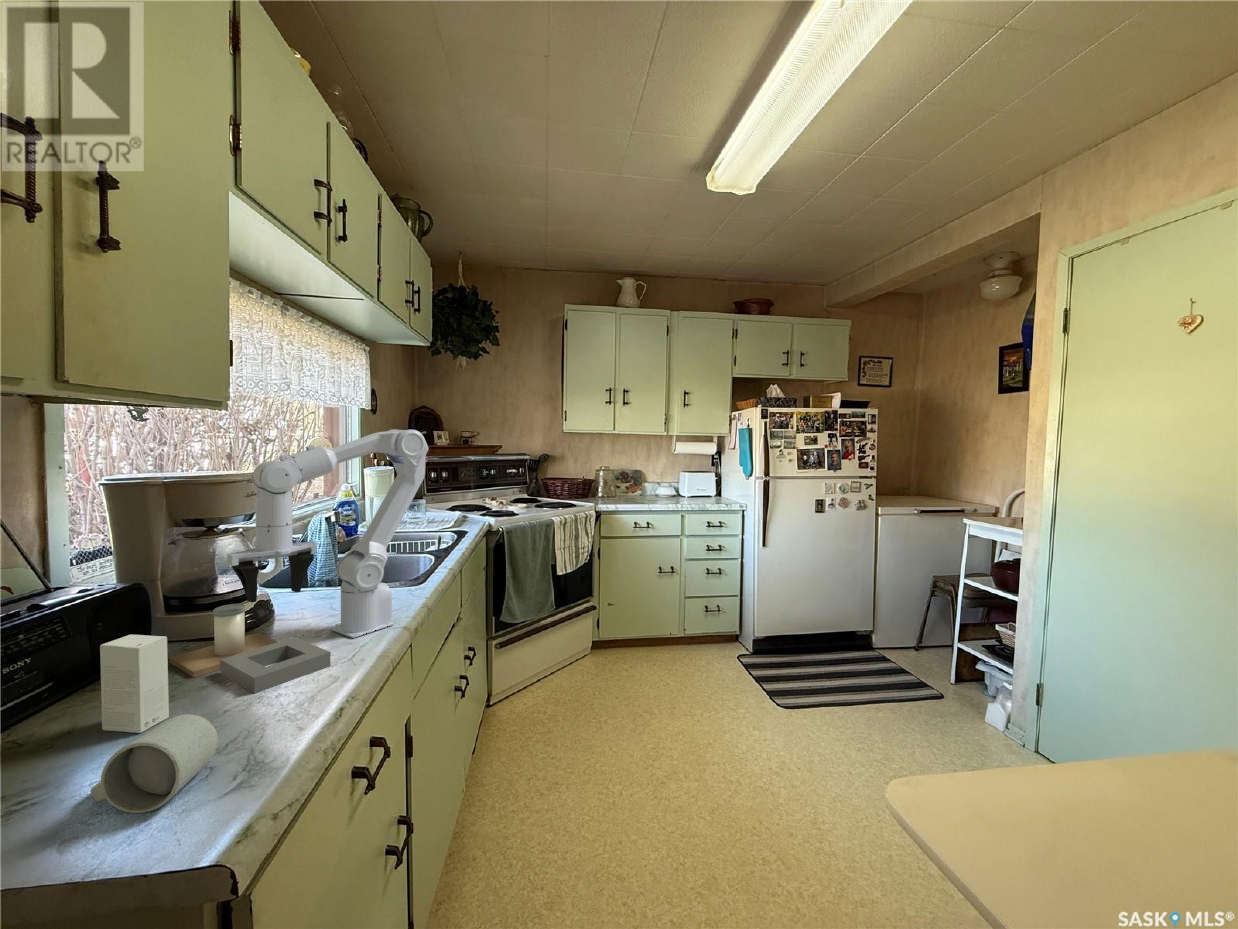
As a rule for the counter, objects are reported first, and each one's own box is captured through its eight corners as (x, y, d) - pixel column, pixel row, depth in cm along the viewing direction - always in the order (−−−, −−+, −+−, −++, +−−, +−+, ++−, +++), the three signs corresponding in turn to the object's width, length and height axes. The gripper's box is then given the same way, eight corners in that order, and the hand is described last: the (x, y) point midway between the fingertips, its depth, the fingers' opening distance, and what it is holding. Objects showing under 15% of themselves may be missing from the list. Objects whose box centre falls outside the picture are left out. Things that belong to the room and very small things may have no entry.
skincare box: (170, 717, 73) (169, 636, 73) (139, 734, 69) (138, 648, 68) (132, 714, 74) (130, 633, 73) (99, 731, 70) (97, 645, 69)
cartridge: (238, 643, 97) (237, 602, 96) (250, 649, 94) (250, 607, 94) (209, 652, 93) (208, 609, 92) (221, 658, 90) (220, 614, 90)
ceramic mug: (224, 763, 63) (222, 703, 63) (179, 810, 55) (176, 742, 55) (128, 771, 62) (125, 710, 61) (66, 822, 54) (63, 751, 53)
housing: (295, 649, 97) (294, 637, 97) (330, 665, 91) (330, 652, 91) (220, 673, 87) (220, 659, 86) (254, 693, 80) (254, 678, 80)
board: (258, 637, 102) (258, 632, 102) (283, 649, 97) (283, 644, 97) (169, 662, 90) (169, 657, 90) (193, 677, 85) (193, 671, 85)
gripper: (239, 532, 87) (240, 610, 88) (325, 522, 100) (325, 590, 100) (221, 527, 91) (221, 602, 91) (305, 518, 103) (305, 584, 104)
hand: (274, 596), depth 96 cm, fingers open, 7 cm apart
